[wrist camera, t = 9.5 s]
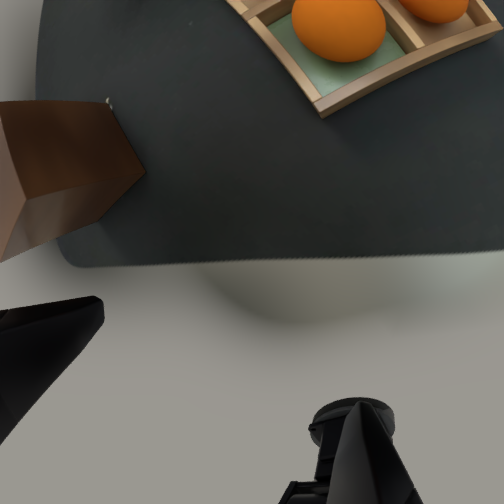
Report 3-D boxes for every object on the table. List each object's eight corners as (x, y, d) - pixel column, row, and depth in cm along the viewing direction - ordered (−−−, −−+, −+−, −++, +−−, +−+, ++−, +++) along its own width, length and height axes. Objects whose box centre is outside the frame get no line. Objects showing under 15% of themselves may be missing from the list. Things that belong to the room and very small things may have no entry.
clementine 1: (392, 54, 12) (416, 22, 7) (327, 86, 13) (330, 59, 9) (343, -3, 11) (348, -45, 7) (279, 27, 12) (265, -12, 8)
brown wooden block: (146, 172, 19) (26, 200, 10) (97, 221, 22) (0, 263, 13) (107, 103, 18) (-4, 101, 9) (65, 158, 21) (-29, 178, 12)
